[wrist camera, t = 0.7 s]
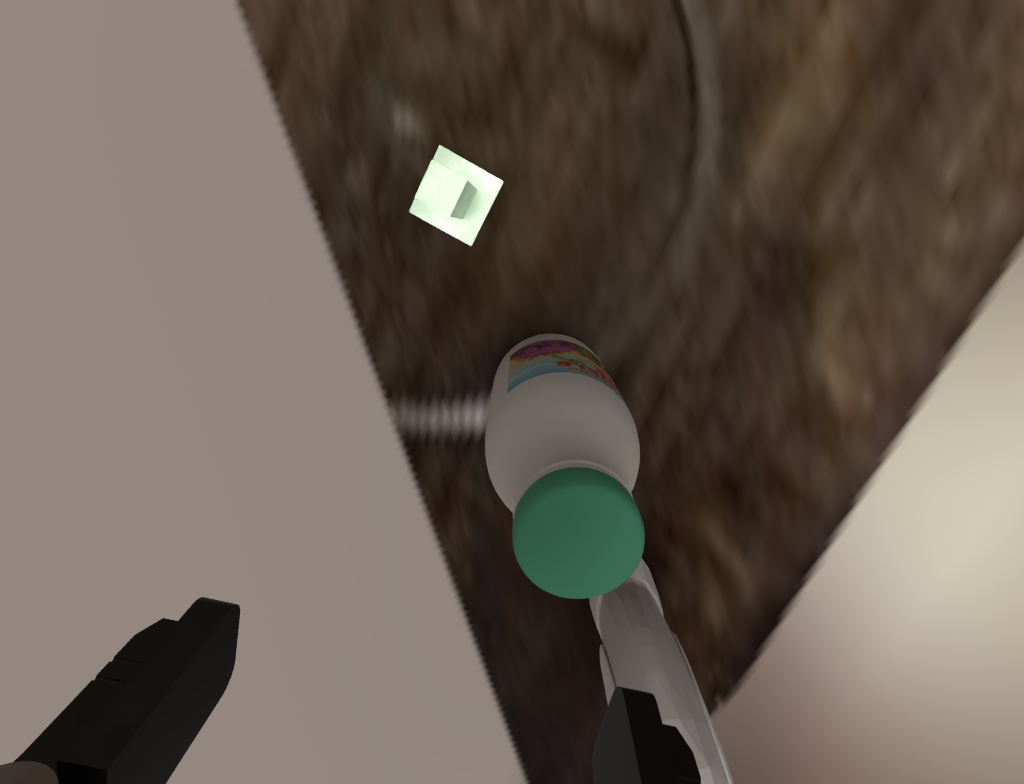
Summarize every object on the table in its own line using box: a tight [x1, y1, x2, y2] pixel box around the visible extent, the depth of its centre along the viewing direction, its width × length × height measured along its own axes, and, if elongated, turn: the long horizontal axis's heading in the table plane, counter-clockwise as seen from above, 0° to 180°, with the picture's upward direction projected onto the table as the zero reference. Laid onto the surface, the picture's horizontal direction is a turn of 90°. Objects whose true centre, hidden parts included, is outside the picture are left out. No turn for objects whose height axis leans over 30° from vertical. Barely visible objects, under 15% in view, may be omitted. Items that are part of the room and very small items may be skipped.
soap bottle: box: [589, 557, 734, 784], centre depth 31 cm, size 13×8×24 cm, turn 12°
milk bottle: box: [485, 334, 645, 599], centre depth 28 cm, size 8×8×20 cm
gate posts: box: [409, 145, 504, 246], centre depth 27 cm, size 20×8×11 cm, turn 152°
